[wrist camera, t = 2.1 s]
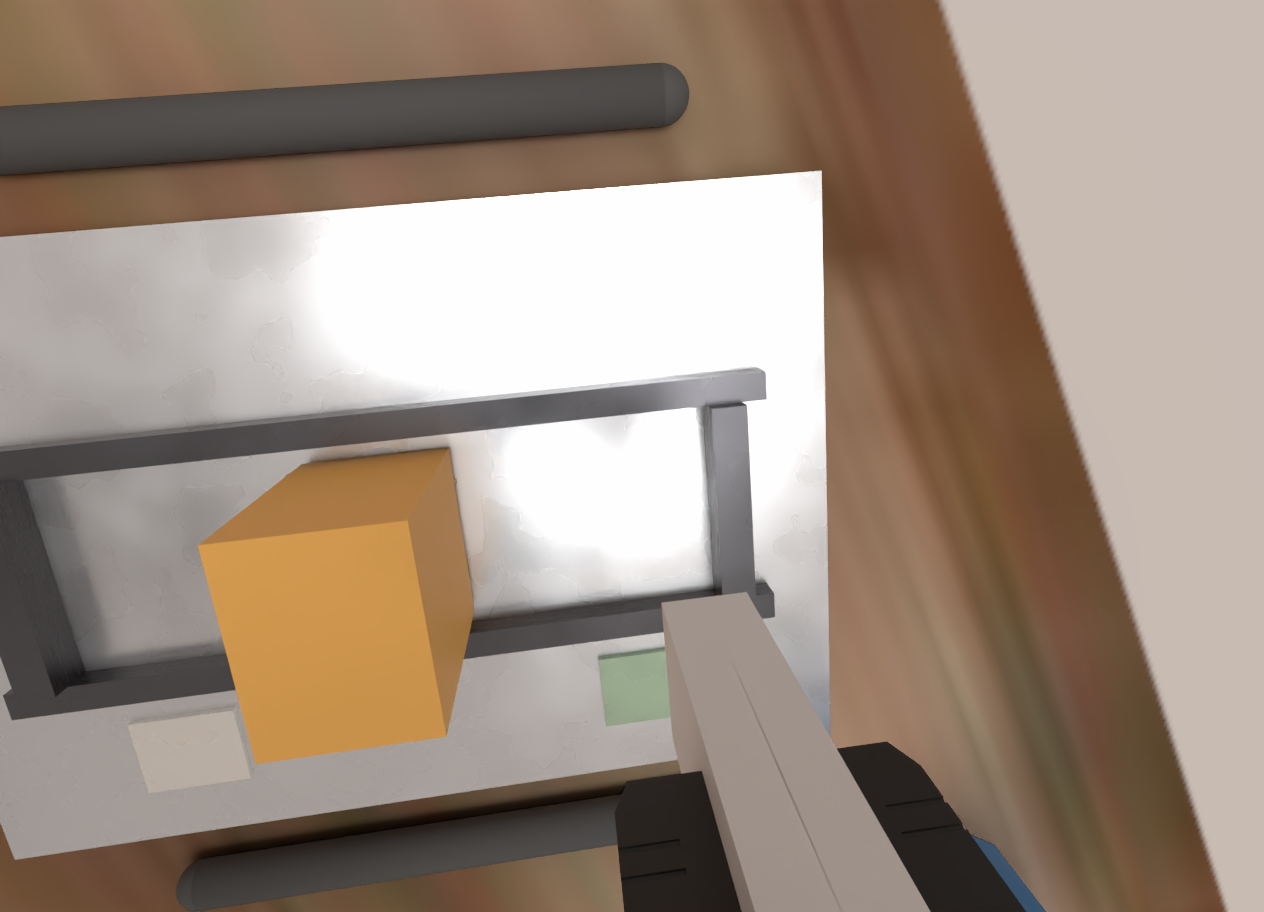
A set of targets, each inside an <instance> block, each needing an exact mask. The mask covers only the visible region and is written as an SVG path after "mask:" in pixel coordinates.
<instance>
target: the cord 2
mask: <svg viewBox="0 0 1264 912" xmlns="http://www.w3.org/2000/svg"><path fill="white" fill-rule="evenodd" d="M621 796H622V794H620V795H613V796H607V797H600V798H594V799H587V800H581V801H574V802H568V803H561V804H555V805H548V806H542V807H535V808H529V809H522V810H516V811H509V812H503V813H496V814H490V815H483V816H477V817H470V818H464V819H457V820H451V821H444V822H438V823H431V824H425V825H418V826H412V827H405V828H399V829H392V830H386V831H379V832H373V833H366V834H360V835H353V836H347V837H340V838H334V839H327V840H321V841H314V842H308V843H301V844H295V845H288V846H282V847H275V848H269V849H262V850H256V851H249V852H243V853H237V854H230V855H224V856H217V857H211V858H205V859H201V860H198V861H196V862H195V863H193V864H192V865H190V866H189V867H188V868H187V869H186V870H185V871H184V872H183V874H182V875H181V877H180V879H179V881H178V884H177V889H176V895H177V899H178V901H179V903H180V905H181V906H182V907H184V908H185V909H187V910H190V911H204V910H210V909H216V908H223V907H229V906H235V905H241V904H248V903H254V902H260V901H266V900H273V899H279V898H285V897H291V896H298V895H304V894H310V893H316V892H323V891H329V890H335V889H341V888H348V887H354V886H360V885H366V884H373V883H379V882H385V881H391V880H398V879H404V878H410V877H416V876H423V875H429V874H435V873H441V872H448V871H454V870H460V869H466V868H473V867H479V866H485V865H491V864H498V863H504V862H510V861H516V860H523V859H529V858H535V857H541V856H548V855H554V854H560V853H566V852H573V851H579V850H585V849H591V848H598V847H604V846H610V845H616V844H618V843H617V833H616V823H615V810H616V808H617V805H618V803H619V801H620V798H621Z"/></svg>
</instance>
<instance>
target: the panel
mask: <svg viewBox="0 0 1264 912" xmlns="http://www.w3.org/2000/svg"><path fill="white" fill-rule="evenodd" d="M443 448H449V452H450V459H451V465H452V471H453V478H454V484H455V490H456V496H457V503H458V509H459V515H460V521H461V528H462V534H463V540H464V546H465V553H466V559H467V565H468V572H469V578H470V584H471V590H472V597H473V603H474V609H475V610H474V615H473V619H472V624H471V628H470V633H469V637H468V642H467V646H466V651H465V655H464V660H463V664H462V669H461V674H460V678H459V683H458V687H457V692H456V696H455V701H454V705H453V710H452V714H451V719H450V723H449V728H448V732H447V737H441V738H434V739H427V740H421V741H414V742H407V743H400V744H393V745H386V746H379V747H372V748H365V749H358V750H351V751H344V752H337V753H330V754H323V755H316V756H309V757H303V758H296V759H289V760H282V761H275V762H268V763H261V764H255V760H254V756H253V752H252V749H251V745H250V741H249V737H248V733H247V730H246V726H245V722H244V718H243V715H242V711H241V707H240V703H239V700H238V696H237V692H236V688H235V684H234V681H233V677H232V673H231V669H230V666H229V662H228V658H227V654H226V650H225V647H224V643H223V639H222V635H221V632H220V628H219V624H218V620H217V617H216V613H215V609H214V605H213V601H212V598H211V594H210V590H209V586H208V583H207V579H206V575H205V571H204V567H203V564H202V560H201V556H200V552H199V549H198V545H199V544H200V543H201V542H203V541H204V540H205V539H206V538H208V537H209V536H210V535H212V534H213V533H214V532H215V531H217V530H218V529H219V528H221V527H222V526H223V525H224V524H226V523H227V522H228V521H229V520H231V519H232V518H233V517H235V516H236V515H237V514H238V513H240V512H241V511H242V510H244V509H245V508H246V507H247V506H249V505H250V504H251V503H252V502H254V501H255V500H256V499H258V498H259V497H260V496H261V495H263V494H264V493H265V492H267V491H268V490H269V489H270V488H272V487H273V486H274V485H275V484H277V483H278V482H279V481H281V480H282V479H283V478H284V477H286V476H287V475H288V474H289V473H291V472H292V471H293V470H295V469H296V468H297V467H298V466H300V465H301V464H307V463H316V462H325V461H334V460H343V459H353V458H362V457H371V456H380V455H389V454H398V453H407V452H416V451H425V450H434V449H443ZM743 592H747V594H748V595H749V597H750V599H751V601H752V602H753V604H754V606H755V607H756V609H757V611H758V613H759V614H760V616H761V618H762V620H763V621H764V623H765V625H766V627H767V628H768V630H769V632H770V634H771V635H772V637H773V639H774V641H775V642H776V644H777V646H778V647H779V649H780V651H781V653H782V654H783V656H784V658H785V660H786V661H787V663H788V665H789V667H790V668H791V670H792V672H793V674H794V675H795V677H796V679H797V680H798V682H799V684H800V686H801V687H802V689H803V691H804V693H805V694H806V696H807V698H808V700H809V701H810V703H811V705H812V707H813V708H814V710H815V712H816V714H817V715H818V717H819V719H820V720H821V722H822V724H823V726H824V727H825V729H826V731H827V733H828V734H829V736H830V675H829V612H828V549H827V486H826V423H825V360H824V297H823V233H822V171H812V172H800V173H787V174H775V175H763V176H750V177H738V178H726V179H713V180H701V181H688V182H676V183H664V184H651V185H639V186H627V187H614V188H602V189H589V190H577V191H565V192H552V193H540V194H528V195H515V196H503V197H490V198H478V199H466V200H453V201H441V202H428V203H416V204H404V205H391V206H379V207H367V208H354V209H342V210H329V211H317V212H305V213H292V214H280V215H268V216H255V217H243V218H230V219H218V220H206V221H193V222H181V223H169V224H156V225H144V226H131V227H119V228H107V229H94V230H82V231H70V232H57V233H45V234H32V235H20V236H8V237H0V823H1V826H2V828H3V831H4V833H5V836H6V839H7V841H8V844H9V846H10V849H11V852H12V854H13V857H14V859H15V860H17V859H24V858H30V857H37V856H44V855H50V854H57V853H63V852H70V851H77V850H83V849H90V848H97V847H103V846H110V845H116V844H123V843H130V842H136V841H143V840H150V839H156V838H163V837H169V836H176V835H183V834H189V833H196V832H203V831H209V830H216V829H222V828H229V827H236V826H242V825H249V824H256V823H262V822H269V821H276V820H282V819H289V818H295V817H302V816H309V815H315V814H322V813H329V812H335V811H342V810H348V809H355V808H362V807H368V806H375V805H382V804H388V803H395V802H401V801H408V800H415V799H421V798H428V797H435V796H441V795H448V794H454V793H461V792H468V791H474V790H481V789H488V788H494V787H501V786H507V785H514V784H521V783H527V782H534V781H541V780H547V779H554V778H560V777H567V776H574V775H580V774H587V773H594V772H600V771H607V770H613V769H620V768H627V767H633V766H640V765H647V764H653V763H660V762H666V761H673V760H678V759H677V754H676V750H675V746H674V742H673V737H672V725H671V713H670V700H669V688H668V676H667V664H666V652H665V640H664V628H663V616H662V604H661V603H663V602H671V601H679V600H687V599H695V598H703V597H711V596H719V595H727V594H735V593H743Z"/></svg>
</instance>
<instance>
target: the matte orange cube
mask: <svg viewBox="0 0 1264 912" xmlns="http://www.w3.org/2000/svg"><path fill="white" fill-rule="evenodd" d="M198 549H199V552H200V556H201V560H202V564H203V567H204V571H205V575H206V579H207V583H208V586H209V590H210V594H211V598H212V601H213V605H214V609H215V613H216V617H217V620H218V624H219V628H220V632H221V635H222V639H223V643H224V647H225V650H226V654H227V658H228V662H229V666H230V669H231V673H232V677H233V681H234V684H235V688H236V692H237V696H238V700H239V703H240V707H241V711H242V715H243V718H244V722H245V726H246V730H247V733H248V737H249V741H250V745H251V749H252V752H253V756H254V760H255V764H261V763H268V762H275V761H282V760H289V759H296V758H303V757H309V756H316V755H323V754H330V753H337V752H344V751H351V750H358V749H365V748H372V747H379V746H386V745H393V744H400V743H407V742H414V741H421V740H427V739H434V738H441V737H447V732H448V728H449V723H450V719H451V714H452V710H453V705H454V701H455V696H456V692H457V687H458V683H459V678H460V674H461V669H462V664H463V660H464V655H465V651H466V646H467V642H468V637H469V633H470V628H471V624H472V619H473V615H474V610H475V609H474V603H473V597H472V590H471V584H470V578H469V572H468V565H467V559H466V553H465V546H464V540H463V534H462V528H461V521H460V515H459V509H458V503H457V496H456V490H455V484H454V478H453V471H452V465H451V459H450V452H449V448H443V449H434V450H425V451H416V452H407V453H398V454H389V455H380V456H371V457H362V458H353V459H343V460H334V461H325V462H316V463H307V464H301V465H300V466H298V467H297V468H296V469H295V470H293V471H292V472H291V473H289V474H288V475H287V476H286V477H284V478H283V479H282V480H281V481H279V482H278V483H277V484H275V485H274V486H273V487H272V488H270V489H269V490H268V491H267V492H265V493H264V494H263V495H261V496H260V497H259V498H258V499H256V500H255V501H254V502H252V503H251V504H250V505H249V506H247V507H246V508H245V509H244V510H242V511H241V512H240V513H238V514H237V515H236V516H235V517H233V518H232V519H231V520H229V521H228V522H227V523H226V524H224V525H223V526H222V527H221V528H219V529H218V530H217V531H215V532H214V533H213V534H212V535H210V536H209V537H208V538H206V539H205V540H204V541H203V542H201V543H200V544H199V545H198Z"/></svg>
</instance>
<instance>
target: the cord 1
mask: <svg viewBox="0 0 1264 912" xmlns="http://www.w3.org/2000/svg"><path fill="white" fill-rule="evenodd" d="M688 100H689V88H688V84H687V81H686V79H685V77H684V76H683V74H682V73H681V72H680V71H679V70H678V69H677V68H676V67H674V66H672V65H669V64H666V63H652V64H637V65H622V66H607V67H592V68H576V69H561V70H546V71H531V72H516V73H501V74H486V75H471V76H456V77H440V78H425V79H410V80H395V81H380V82H365V83H350V84H335V85H319V86H304V87H289V88H274V89H259V90H244V91H229V92H214V93H199V94H183V95H168V96H153V97H138V98H123V99H108V100H93V101H78V102H63V103H47V104H32V105H17V106H2V107H0V175H13V174H26V173H40V172H53V171H67V170H80V169H94V168H108V167H121V166H135V165H148V164H162V163H175V162H189V161H202V160H216V159H229V158H243V157H256V156H270V155H284V154H297V153H311V152H324V151H338V150H351V149H365V148H378V147H392V146H405V145H419V144H432V143H446V142H460V141H473V140H487V139H500V138H514V137H527V136H541V135H554V134H568V133H581V132H595V131H608V130H622V129H636V128H649V127H662V126H667V125H670V124H672V123H674V122H675V121H677V120H678V119H679V118H680V117H681V116H682V115H683V113H684V111H685V110H686V107H687V105H688Z"/></svg>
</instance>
